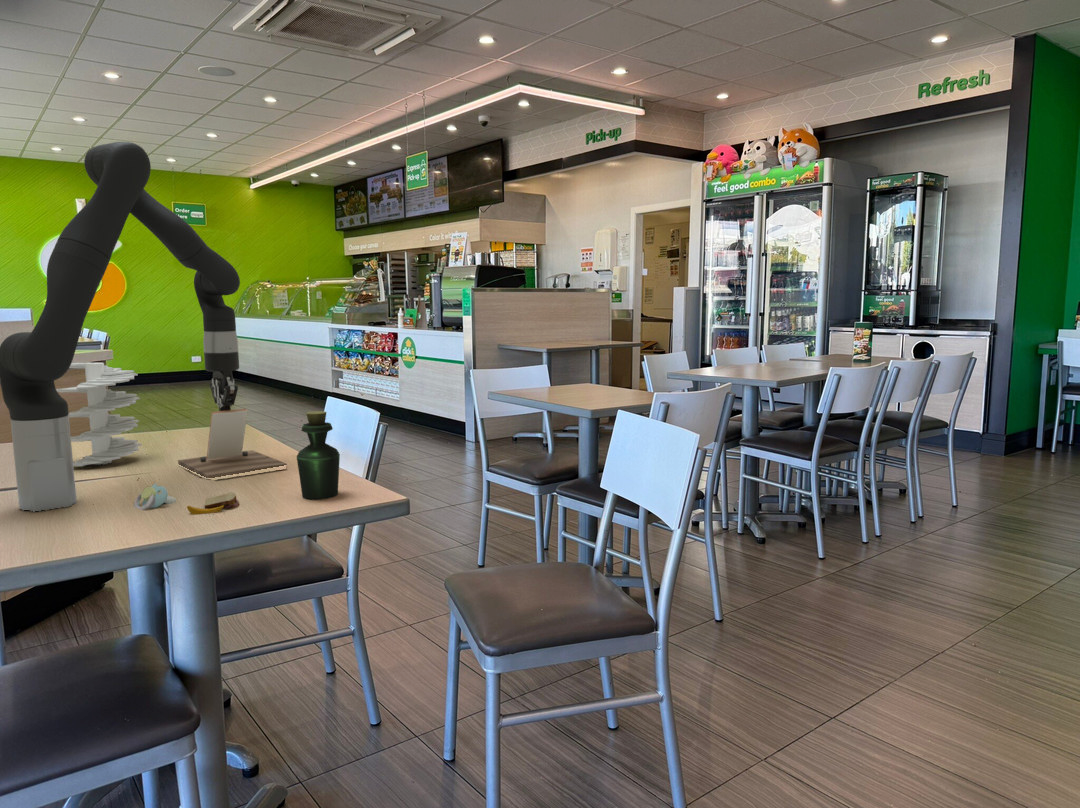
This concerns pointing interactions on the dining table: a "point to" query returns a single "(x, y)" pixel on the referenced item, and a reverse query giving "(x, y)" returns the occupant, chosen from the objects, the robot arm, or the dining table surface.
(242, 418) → the flip tile
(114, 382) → the spiral staircase
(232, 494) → the toy sandwich meal
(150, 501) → the pacifier
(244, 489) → the dining table surface
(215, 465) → the board
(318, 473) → the potion bottle
